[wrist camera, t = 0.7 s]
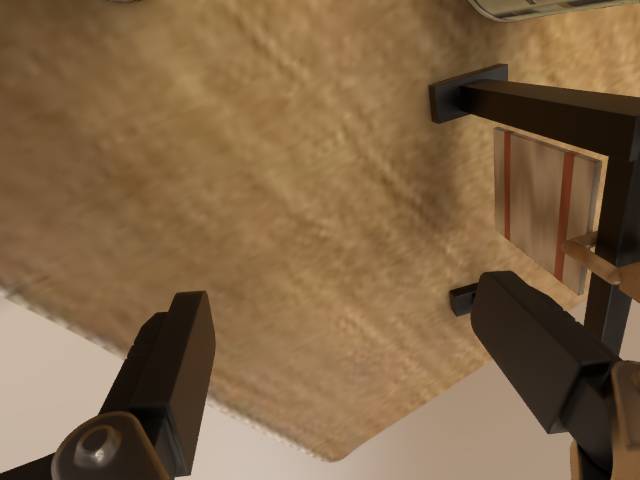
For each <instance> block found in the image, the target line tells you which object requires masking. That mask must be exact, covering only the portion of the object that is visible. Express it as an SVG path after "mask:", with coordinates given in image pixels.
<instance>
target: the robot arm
mask: <svg viewBox="0 0 640 480" xmlns="http://www.w3.org/2000/svg"><path fill="white" fill-rule="evenodd" d="M107 1H112V2H119V3H129V2H136V1H140V0H107ZM471 325H472V328H473V331H474V333H475V334H476V336H477V337H478V339H479V340H480V341H481V343H482V344H483V345H484V347H485V348H486V350H487V351H488V352H489V354H490V355H491V357H492V358H493V359H494V361H495V362H496V363H497V365H498V366H499V368H500V369H501V370H502V372H503V373H504V374H505V376H506V377H507V379H508V380H509V381H510V383H511V384H512V385H513V387H514V388H515V389H516V391H517V392H518V394H519V395H520V396H521V398H522V399H523V401H524V402H525V403H526V405H527V406H528V407H529V409H530V410H531V412H532V413H533V414H534V416H535V417H536V418H537V420H538V421H539V423H540V424H541V425H542V427H543V428H544V429H545V431H546V432H547V434H554V433H562V432H569V433H570V434H571V435H572V437H573V438H574V439H573V441H572V443H571V446H570V464H571V480H640V362H637V361H629V360H628V361H623V360H622V359H621V358H620V357H618V356H617V355H616V354H615V353H614V352H613V351H612V350H610V349H609V348H608V347H607V346H606V345H605V344H604V343H602V342H601V341H600V340H599V339H598V338H597V337H595V336H594V335H593V334H592V333H591V332H590V331H589V330H587V329H586V328H585V327H584V326H583V325H582V324H580V323H579V322H576V321H575V318H573V317H572V316H571V315H570V314H569V313H568V312H567V311H563V308H562V307H561V306H560V305H559V304H557V303H556V302H555V301H554V300H553V299H552V298H551V297H549V296H548V295H546V294H544V293H542V292H540V291H539V290H537V289H535V288H533V287H531V286H529V285H528V284H526V283H525V282H524V281H523V280H522V279H521V278H520V277H519V276H518V275H516V274H515V273H514V272H512V271H496V272H485V273H483V274H482V275H481V276H480V279H479V282H478V286H477V290H476V294H475V298H474V302H473V306H472V310H471ZM214 356H215V332H214V326H213V321H212V315H211V310H210V305H209V299H208V295H207V292H206V291H192V292H178V293H176V294H175V296H174V299H173V301H172V304H171V306H170V308H169V311H168V312H159V313H155V314H154V315H153V316H152V317H151V318H150V319H149V320H148V321H147V322H146V323H145V324H144V325H143V326H142V327H141V329H140V331H139V333H138V335H137V337H136V339H135V341H134V345H132V347H131V349H130V351H129V353H128V355H127V359H125V361H124V363H123V365H122V367H121V369H120V371H119V373H118V375H117V377H116V379H115V381H114V383H113V385H112V387H111V389H110V392H109V394H108V396H107V398H106V400H105V402H104V404H103V406H102V408H101V410H100V412H99V414H98V415H97V416H95V417H93V418H91V419H89V420H88V421H86V422H84V423H83V424H81V425H80V426H79V427H77V428H76V429H75V430H73V432H71V433H70V434H69V435H68V436H67V437H66V438H65V440H64V441H63V442H62V443H61V445H60V446H59V448H58V449H57V451H56V452H55V453H52V454H50V455H48V456H45V457H43V458H40V459H38V460H35V461H32V462H30V463H27V464H25V465H22V466H19V467H16V468H14V469H11V470H9V471H6V472H3V473H0V480H174V478H175V477H180V476H189V475H191V471H192V466H193V461H194V456H195V451H196V445H197V441H198V436H199V431H200V426H201V421H202V416H203V411H204V406H205V401H206V396H207V391H208V386H209V381H210V376H211V371H212V366H213V361H214Z"/></svg>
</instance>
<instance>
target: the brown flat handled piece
mask: <svg viewBox="0 0 640 480" xmlns="http://www.w3.org/2000/svg"><path fill="white" fill-rule="evenodd" d="M601 168H602V161H601V160H598V159H595V158H592V157H589V156H586V155H583V154H580V153H577V152H574V151H570V150H567V149H564V148H561V147H558V146H555V145H552V144H549V143H546V142H543V141H540V140H537V139H534V138H531V137H528V136H525V135H522V134H519V133H516V132H513V131H510V130H507V129H504V128H501V127H496V128H494V178H495V230H496V231H498V232H499V233H500V234H501V235H503V236H504V237H505V238H506V239H507V240H509V241H510V242H511V243H513V244H514V245H515V246H517V247H518V248H519V249H520V250H522V251H523V252H524V253H525V254H527V255H528V256H529V257H530V258H532V259H533V260H534V261H535V262H537V263H538V264H539V265H540V266H542V267H543V268H544V269H545V270H547V271H548V272H549V273H550V274H552V275H553V276H554V277H555V278H556V279H558V280H559V281H560V282H561V283H563V284H564V285H566V286H567V287H568V288H569V289H571V290H572V291H573V292H574V293H576V294H577V295H582V294H584V289H585V282H586V275H587V268H588V269H589V270H591V271H592V272H594V273H595V274H597V275H598V276H600V277H601V278H602V279H604V280H605V281H607V282H608V283H610V284H613V285H619V290H621V291H622V292H624V293H625V294H627V295H628V296H630V297H631V298H632V299H634V300H636V301H637V302H638V303H640V262H636V263H633V264H629V265H626V266H622V267H619V268H617V267H615V266H614V265H612V264H611V263H609V262H607V261H606V260H604V259H603V258H601V257H599V256H598V255H596V254H595V253H593V252H591V251H590V248H591V247H595V246H596V239H597V233H598V231H595V232H593V225H594V218H595V211H596V204H597V196H598V189H599V182H600V175H601Z"/></svg>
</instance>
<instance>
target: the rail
mask: <svg viewBox="0 0 640 480" xmlns="http://www.w3.org/2000/svg"><path fill="white" fill-rule="evenodd" d="M429 93H430V102H431V112H432V121H433V122H435V123H437V124H439V123H443V122H446V121H449V120H453V119H456V118H459V117H463V116H466V115H469V114H473V115H476V116H479V117H483V118H486V119H489V120H492V121H496V122H499V123H502V124H505V125H509V126H512V127H515V128H518V129H521V130H525V131H528V132H531V133H534V134H538V135H541V136H544V137H547V138H551V139H554V140H557V141H560V142H564V143H567V144H570V145H573V146H576V147H580V148H583V149H586V150H589V151H593V152H596V153H599V154H602V155H606V156H609V159H608V165H607V172H606V179H605V185H604V192H603V199H602V206H601V212H600V219H599V226H598V233H597V239H596V246H595V254H596V255H598V256H599V257H601V258H603V259H604V260H606V261H607V262H609V263H611V264H612V265H614V266H615V267H617V268H619V267H622V266H626V265H629V264H633V263H636V262H640V97H632V96H624V95H615V94H607V93H599V92H591V91H583V90H574V89H566V88H558V87H550V86H542V85H533V84H525V83H517V82H509V81H508V64H497V65H493V66H490V67H487V68H484V69H480V70H477V71H474V72H470V73H467V74H464V75H461V76H457V77H454V78H451V79H447V80H444V81H441V82H437V83H434V84H431V85H429ZM477 286H478V283H475V284H472V285H468V286H465V287H461V288H458V289H454V290H451V291H450V296H451V306H452V311H453V312H454V314H455V315H456V316H461V315H464V314H468V313H471V310H472V306H473V302H474V298H475V294H476V290H477ZM631 301H632V298H631V297H630V296H628V295H627V294H625V293H624V292H622V291H621V290H619V285H613V284H610V283H608V282H607V281H605V280H604V279H602V278H601V277H600V276H598V275H597V274H595V273H594V272H592V273H591V280H590V286H589V293H588V300H587V307H586V313H585V320H584V327H585V328H586V329H587V330H589V331H590V332H591V333H592V334H593V335H594V336H595V337H597V338H598V339H599V340H600V341H601V342H602V343H604V344H605V345H606V346H607V347H608V348H609V349H610V350H612V351H613V352H614V353H615V354H616V355H617V356H618V357H619V353H620V348H621V344H622V339H623V335H624V331H625V327H626V322H627V318H628V314H629V309H630V305H631Z"/></svg>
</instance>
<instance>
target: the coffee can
mask: <svg viewBox="0 0 640 480" xmlns="http://www.w3.org/2000/svg"><path fill="white" fill-rule="evenodd" d="M468 1H469V3H471V4H472V6H473V7H474V8H475V9H476V10H477V11H478V12H479V13H481V14H482V15H484V16H485V17H487V18H490V19H492V20H495V21H500V22H515V21H519V20H523V19H527V18H533V17H540V16H548V15H555V14H561V13H568V12H575V11H582V10H589V9H598V8H606V7H612V6H621V5H626V4H633V3H640V0H468Z"/></svg>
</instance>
